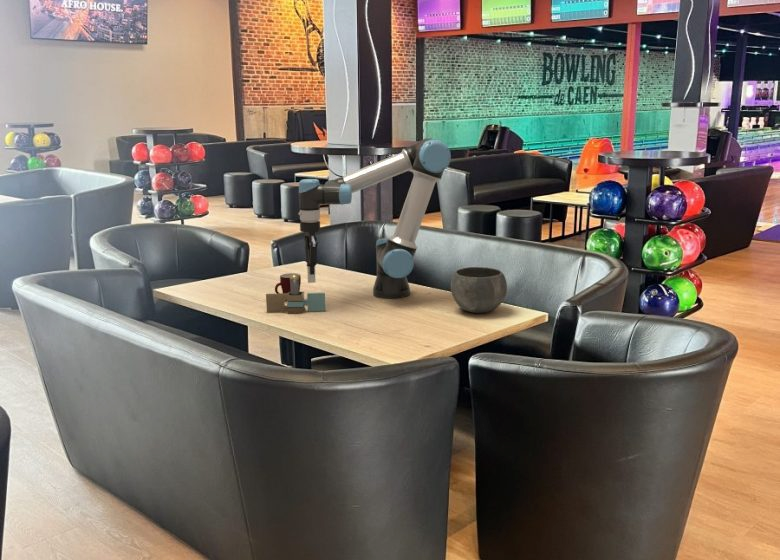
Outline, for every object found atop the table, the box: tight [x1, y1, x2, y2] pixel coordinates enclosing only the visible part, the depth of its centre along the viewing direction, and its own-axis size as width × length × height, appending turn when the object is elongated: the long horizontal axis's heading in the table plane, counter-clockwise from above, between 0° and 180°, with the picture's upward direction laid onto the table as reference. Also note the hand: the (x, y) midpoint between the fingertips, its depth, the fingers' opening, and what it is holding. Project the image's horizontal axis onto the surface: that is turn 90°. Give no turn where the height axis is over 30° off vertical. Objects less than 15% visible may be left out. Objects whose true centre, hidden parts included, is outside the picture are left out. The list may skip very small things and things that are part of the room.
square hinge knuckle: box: [265, 291, 306, 315], centre depth 290 cm, size 14×6×7 cm, turn 90°
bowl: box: [450, 266, 508, 314], centre depth 286 cm, size 20×20×15 cm
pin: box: [290, 273, 300, 308], centre depth 290 cm, size 3×3×14 cm
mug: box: [274, 272, 302, 294], centre depth 307 cm, size 11×8×10 cm
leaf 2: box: [286, 292, 327, 312], centre depth 290 cm, size 14×6×7 cm, turn 90°
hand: (311, 282), depth 295 cm, fingers closed
